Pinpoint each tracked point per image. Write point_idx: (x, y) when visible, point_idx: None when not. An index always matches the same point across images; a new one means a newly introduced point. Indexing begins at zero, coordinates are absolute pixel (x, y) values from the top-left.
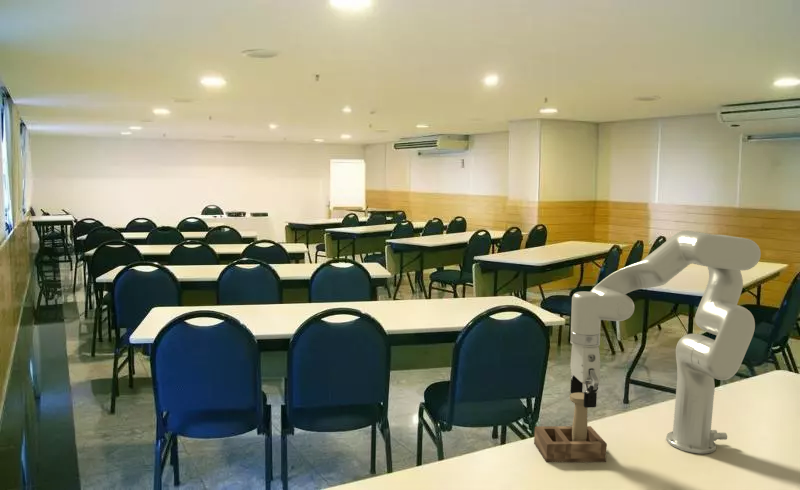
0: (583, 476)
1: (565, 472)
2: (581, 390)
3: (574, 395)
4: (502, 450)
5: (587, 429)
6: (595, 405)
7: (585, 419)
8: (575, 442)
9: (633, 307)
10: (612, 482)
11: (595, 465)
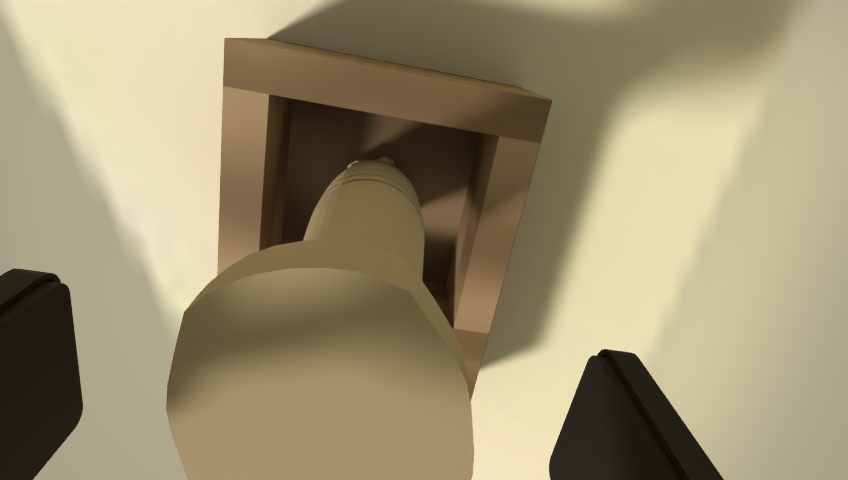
0: (614, 287)
1: (554, 344)
2: (35, 316)
3: None
4: None
5: (271, 94)
6: (635, 369)
7: (420, 263)
8: (475, 302)
9: None
10: (715, 183)
11: (538, 170)
